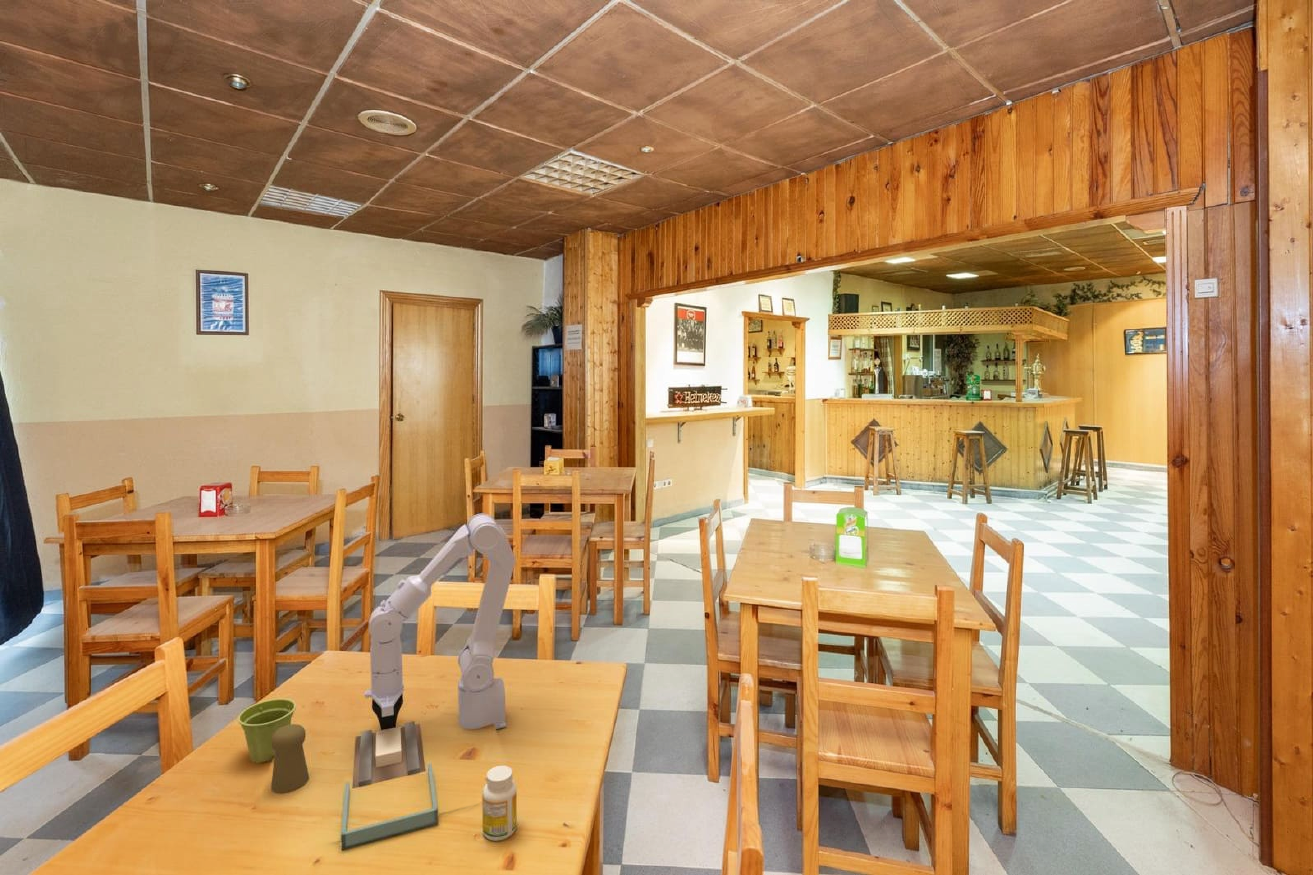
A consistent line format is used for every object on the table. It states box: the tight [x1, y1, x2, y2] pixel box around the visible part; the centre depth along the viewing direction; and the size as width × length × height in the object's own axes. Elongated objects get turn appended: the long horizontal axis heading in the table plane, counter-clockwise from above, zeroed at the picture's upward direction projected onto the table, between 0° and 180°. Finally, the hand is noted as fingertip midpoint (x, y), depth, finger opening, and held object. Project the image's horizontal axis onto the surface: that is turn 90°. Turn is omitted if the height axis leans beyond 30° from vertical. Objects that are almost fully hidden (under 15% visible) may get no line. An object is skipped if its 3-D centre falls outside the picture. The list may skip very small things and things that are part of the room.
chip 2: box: [376, 738, 402, 768], centre depth 115 cm, size 4×4×2 cm
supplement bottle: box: [481, 765, 518, 842], centre depth 98 cm, size 5×5×10 cm
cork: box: [270, 723, 310, 795], centre depth 107 cm, size 6×6×11 cm
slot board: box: [351, 720, 426, 789], centre depth 117 cm, size 12×17×2 cm
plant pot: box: [237, 698, 297, 764], centre depth 117 cm, size 9×9×9 cm
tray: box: [340, 762, 439, 851], centre depth 102 cm, size 14×13×2 cm
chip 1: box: [375, 726, 401, 743], centre depth 119 cm, size 4×4×2 cm
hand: (388, 732), depth 122 cm, fingers closed
